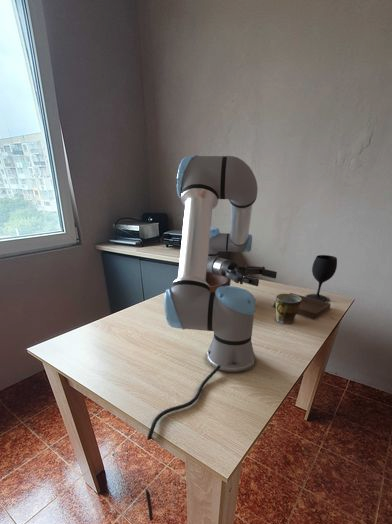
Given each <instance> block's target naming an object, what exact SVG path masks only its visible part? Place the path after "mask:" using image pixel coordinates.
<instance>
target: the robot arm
mask: <svg viewBox="0 0 392 524" xmlns="http://www.w3.org/2000/svg"><path fill="white" fill-rule="evenodd" d="M176 181H177V182H176V193H177V196H178V198H179V199H180V201H181V203H182V205H183V206H184V215H183V222H182V223H183V224H182V235H181V243H180V244H181V245H180V252H179V253H180V254H179V262H178V263H179V264H178V273H177V278H176V279H175V280H174V281H172V284H171V288H168V289H166V290H165V291H164V298H163V299H164V300H163V303H164V313H165V319H166V322H167V324H168V325H169V327H170V328H174V329H179V330H180V329H181V330H184V331H185V330H194V331H204V332H205V331H206V332H213V338H212V340H211V342H210V345H209V348H208V350H207V353H206V355H207V357H206V361H207V362H208V364H209V365H210V366H211V367H212V368H213V370H212V371H211V372H210V373H209V374H208V375H207V376H206V377H205V378H204V380H203V381H202V382H201V384H200V385H199V387H198V390H197V391H196V394H195V396H194V397H193V398H192V399H190V400H189V401H187V402H185V403H183V404H180V405H176V406H172V407H169V408H167V409H164V410H163V411H161V412H160V413H158V414H157V415H156V416H155V418H154V419H153V421H152V423H151V425H150V428H149V431H148V434H147V437H146V440H147V441H151V439H152V437H153V435H154V431H155V428H156V425H157V424H158V423H157V422H158V421H159V420H160V419H161V418H162V417H164V416H165V415H166V414H169V413H172V412H175V411H179V410H182V409H186V408H188V407H189V406H191V405H193V404H194V403H196V401H197V400H199V398H200V396H201V393H202V391H203V389H204V387H205V385H206V384H207V383H208V381H209V380H210V379H212V377H213V376H214V375H215V374H216V373H217V372H218V371H221V372H225V373H242V372H245V371H248V370H249V369H251V368H252V367H253V366H254V364H255V359H256V356H255V351H254V348H253V342H252V336H253V328H254V327H253V326H254V318H255V314H256V298H255V295H254V294H253V293H252V292H250V291H249V290H247V289H245V288H242V287H238V286H234V285H230V286H221V287H218V288H217V289H216V291H215V292H210V286H209V284H208V283H207V282H206V272H208V273H212V274H216V275H219V276H220V277H221V276H224V277H226V278H230V279H231V281H232V282H234V283H235V284H239V285H243V284H246V285H251V286H254V287H259V283H260V279H259V278H256V277H252V276H249V275H261V276H264V277H267V278H271V279H274V280H275V279H277V273H278V272H277V271H275V270H270V269H266V267H265V266H254V265H247V264H246V265H245V264H242V265H238V263H237V261H235V260H230V259H228V258H227V259H226V258H222V257H219V252H228V253H229V252H231V253H234V252H235V253H241V254H242V253H243V254H244V253H249V252H251V251H252V246H253V234H250V228H251V218H252V211H253V205H254V204H255V202H256V200H257V198H258V189H259V187H258V182H257V178H256V176H255V174H254V172H253V169H251V167H250V166H249V164H247V162H245V161H244V160H242V159H241V158H239V157H238V156H234V155H197V154H195V155H193V156H192V155H188V156H184V157H183V158H182V160H181V161H180V162H179V165H178V170H177V176H176ZM219 200H228V202H229V204H230V229H229V232H230V233H226V232H220V229H219V228H218V227H212V218H213V210H214V209H215V208H216V207H217V206H218V204H219ZM144 490H145V496H146V502H147V510H148V517H149V521H150V522H152V521H153V520H154V514H153V507H152V500H151V492H149V490H148V489H147V488H145V489H144Z"/></svg>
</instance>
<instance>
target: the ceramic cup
mask: <svg viewBox="0 0 392 524" xmlns="http://www.w3.org/2000/svg"><path fill="white" fill-rule="evenodd" d="M293 294H294V293H293ZM293 294H290V293H278V294H276V296H275V301H276V308H275V319H276V321H277V323H280V324H282V325H291V324H292V323H293V322H294V320H295V318H296V316H297V314H296V313H297V311H298V309H299V306H300V304H301V301H302V299H301V298H300V297H299V296H297V295H298V294H297V295H293Z"/></svg>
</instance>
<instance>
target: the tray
mask: <svg viewBox="0 0 392 524" xmlns="http://www.w3.org/2000/svg"><path fill="white" fill-rule="evenodd" d="M289 294H293V295H297V296H299V297H300V298H301V299H302V301H301V304H300V306H299V309H298V311H297V313H296V315H298V316H301V317H304V318H307V319H311V320H314V321H315V320H317V319H318V318H319V317H321V316H322V315H324V314H325V313H327V312H328V311H330V309H331V303H330V302H328V301H327V302H323V301H319V300H315V299H312V298H308V297H306V296H304V295H300V294H296V293H293V292H290V293H289ZM273 308H275V309H276V300H275V301H274V302H273Z"/></svg>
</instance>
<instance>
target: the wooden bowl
mask: <svg viewBox="0 0 392 524" xmlns="http://www.w3.org/2000/svg"><path fill="white" fill-rule="evenodd" d="M206 282H207V283H208V284H209V286H210V292H215V291H216V289H217V288H218V287H221V286H231V283H232V280H231V279H230V278H226V277H224V276H221V277H220V276H219V275H216V274H212V273H208V272H206Z"/></svg>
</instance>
